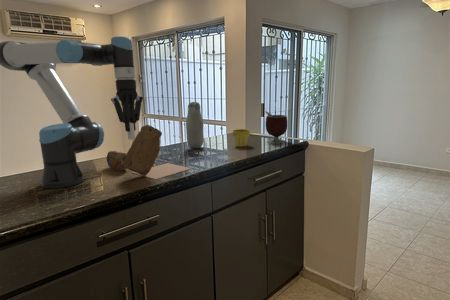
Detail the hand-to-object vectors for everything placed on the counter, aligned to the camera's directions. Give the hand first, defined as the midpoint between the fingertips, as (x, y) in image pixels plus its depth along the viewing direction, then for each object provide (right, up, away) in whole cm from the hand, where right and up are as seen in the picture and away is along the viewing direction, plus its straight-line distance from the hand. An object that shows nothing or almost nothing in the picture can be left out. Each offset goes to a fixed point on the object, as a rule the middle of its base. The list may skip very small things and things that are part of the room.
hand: (131, 139), depth 122 cm
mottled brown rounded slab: (-12, -14, +20) cm, 27 cm away
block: (0, -14, +3) cm, 14 cm away
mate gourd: (+71, +1, +76) cm, 104 cm away
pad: (+9, -14, +14) cm, 22 cm away
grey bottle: (+20, -3, +63) cm, 67 cm away
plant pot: (+48, -2, +67) cm, 82 cm away
